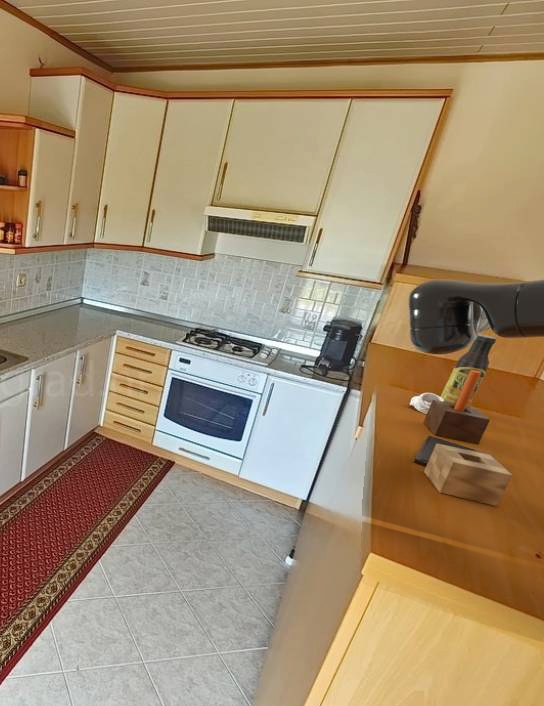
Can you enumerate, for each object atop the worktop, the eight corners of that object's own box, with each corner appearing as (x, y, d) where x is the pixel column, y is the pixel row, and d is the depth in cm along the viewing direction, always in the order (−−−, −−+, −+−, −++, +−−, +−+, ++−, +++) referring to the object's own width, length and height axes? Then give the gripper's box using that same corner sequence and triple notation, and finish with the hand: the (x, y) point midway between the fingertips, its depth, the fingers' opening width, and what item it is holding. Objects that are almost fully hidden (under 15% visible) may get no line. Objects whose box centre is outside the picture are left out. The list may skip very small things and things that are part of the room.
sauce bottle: (441, 408, 127) (472, 335, 121) (434, 401, 133) (463, 330, 126) (471, 415, 125) (505, 340, 118) (463, 407, 130) (495, 335, 124)
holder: (463, 431, 113) (474, 407, 111) (478, 444, 106) (490, 419, 104) (423, 422, 116) (432, 399, 114) (435, 435, 109) (445, 410, 107)
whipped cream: (444, 416, 125) (453, 398, 123) (446, 420, 120) (455, 402, 118) (407, 404, 129) (416, 387, 128) (407, 408, 124) (416, 390, 122)
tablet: (427, 438, 107) (428, 434, 106) (492, 459, 100) (494, 455, 99) (413, 462, 94) (415, 458, 94) (487, 487, 87) (489, 483, 87)
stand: (475, 484, 88) (490, 454, 86) (496, 506, 81) (512, 475, 79) (423, 471, 91) (436, 443, 89) (439, 492, 84) (453, 461, 81)
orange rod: (451, 432, 111) (479, 371, 106) (454, 435, 110) (482, 373, 105) (442, 431, 112) (469, 369, 107) (445, 433, 110) (472, 371, 105)
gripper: (408, 323, 86) (434, 318, 96) (515, 345, 76) (532, 337, 85) (424, 280, 83) (450, 279, 93) (538, 297, 73) (552, 294, 83)
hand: (489, 307), depth 89 cm, fingers open, 8 cm apart
